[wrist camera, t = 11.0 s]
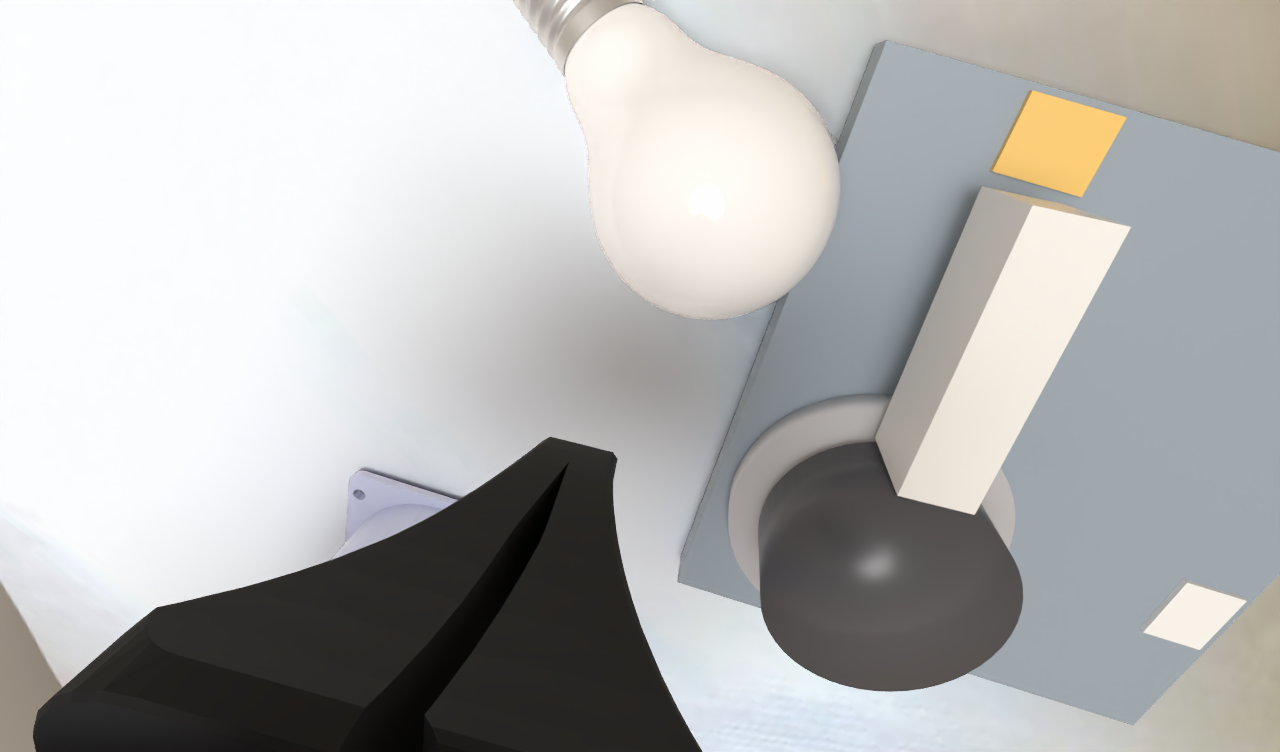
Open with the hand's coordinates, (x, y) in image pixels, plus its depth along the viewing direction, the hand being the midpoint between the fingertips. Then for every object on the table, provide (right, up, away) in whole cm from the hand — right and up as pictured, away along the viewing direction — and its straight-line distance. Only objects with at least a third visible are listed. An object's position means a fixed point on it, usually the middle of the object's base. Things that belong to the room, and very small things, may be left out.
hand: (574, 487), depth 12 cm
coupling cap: (+9, 0, +7) cm, 12 cm away
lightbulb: (-1, +13, +4) cm, 14 cm away
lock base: (+14, 0, +9) cm, 17 cm away
